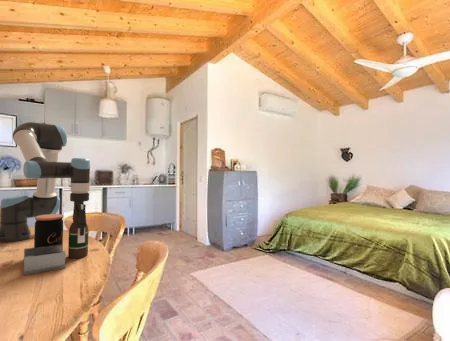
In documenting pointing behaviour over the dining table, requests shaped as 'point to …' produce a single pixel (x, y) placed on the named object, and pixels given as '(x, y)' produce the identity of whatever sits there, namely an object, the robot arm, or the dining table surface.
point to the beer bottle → (76, 248)
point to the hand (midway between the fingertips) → (78, 239)
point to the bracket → (43, 259)
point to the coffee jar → (48, 230)
